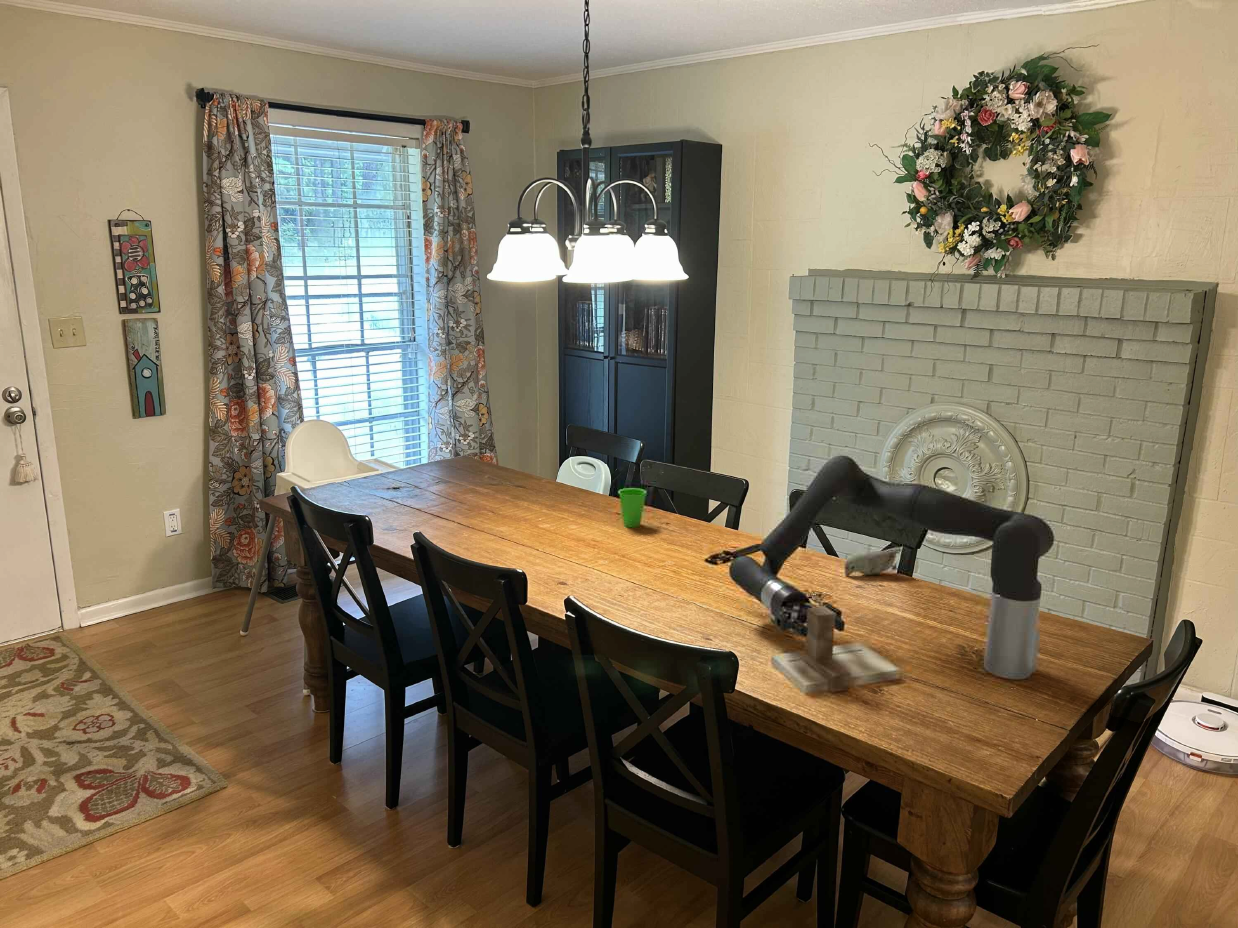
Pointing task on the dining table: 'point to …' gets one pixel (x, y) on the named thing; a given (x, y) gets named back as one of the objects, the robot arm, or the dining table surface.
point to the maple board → (849, 656)
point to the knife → (732, 554)
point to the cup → (632, 505)
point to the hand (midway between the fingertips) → (824, 629)
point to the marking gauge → (824, 648)
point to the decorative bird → (872, 562)
